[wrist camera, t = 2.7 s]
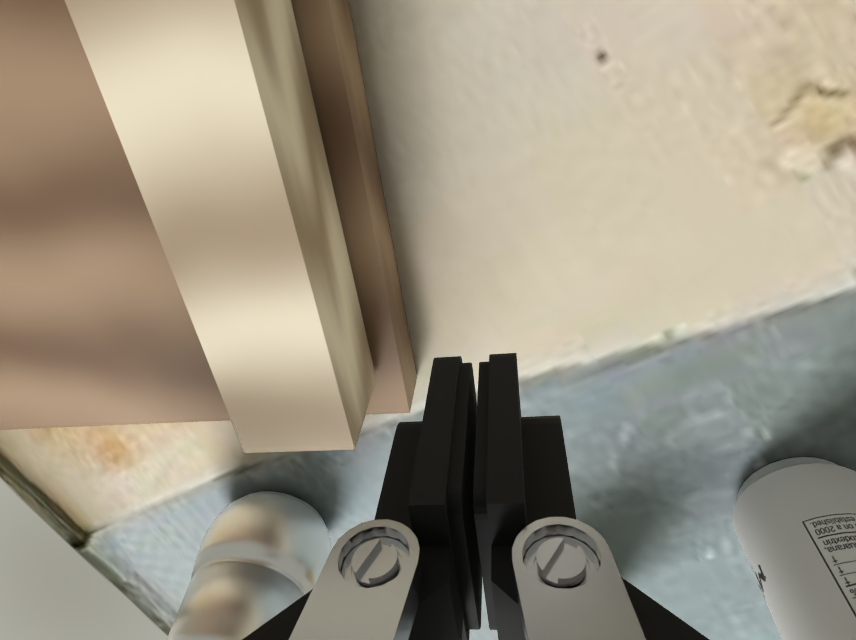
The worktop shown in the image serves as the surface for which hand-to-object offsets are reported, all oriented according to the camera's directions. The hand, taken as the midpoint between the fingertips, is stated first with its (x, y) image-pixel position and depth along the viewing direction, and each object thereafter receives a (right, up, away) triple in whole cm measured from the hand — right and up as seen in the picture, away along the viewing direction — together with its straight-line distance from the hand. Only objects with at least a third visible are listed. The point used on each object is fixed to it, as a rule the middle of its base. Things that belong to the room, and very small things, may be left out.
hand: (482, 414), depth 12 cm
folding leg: (-6, +7, +7) cm, 12 cm away
